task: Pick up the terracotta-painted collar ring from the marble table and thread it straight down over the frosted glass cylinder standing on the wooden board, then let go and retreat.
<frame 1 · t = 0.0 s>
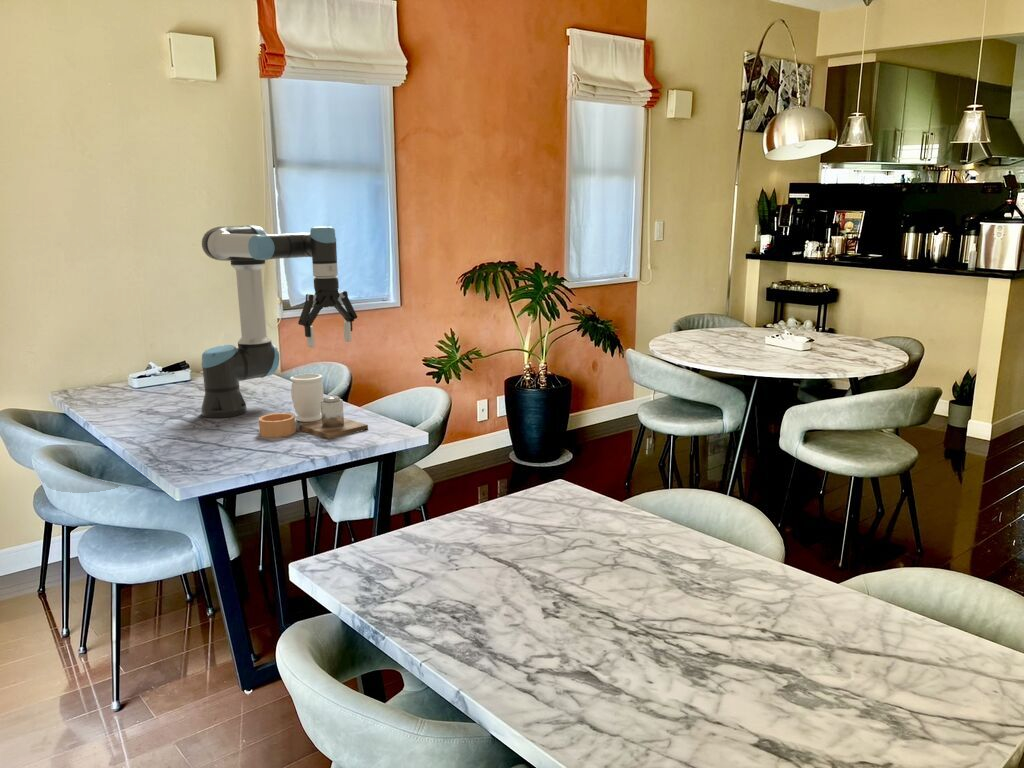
hand: (330, 344, 261), 28 cm above the table, fingers open, 13 cm apart
wooden board: (333, 429, 267), on the table
jar: (309, 419, 280), on the table
frosted glass cylinder: (332, 411, 266), on the wooden board, point 6 cm above the table
ring: (277, 432, 264), on the table
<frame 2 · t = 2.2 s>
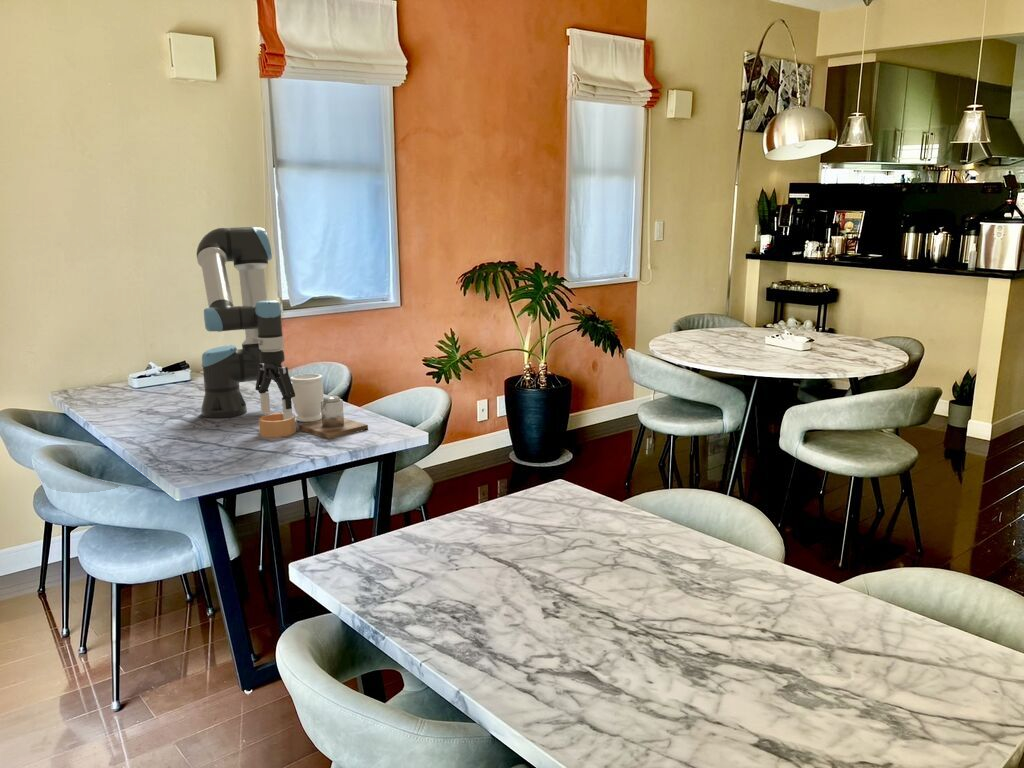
hand: (276, 415, 263), 6 cm above the table, fingers open, 13 cm apart
nothing on the table moved.
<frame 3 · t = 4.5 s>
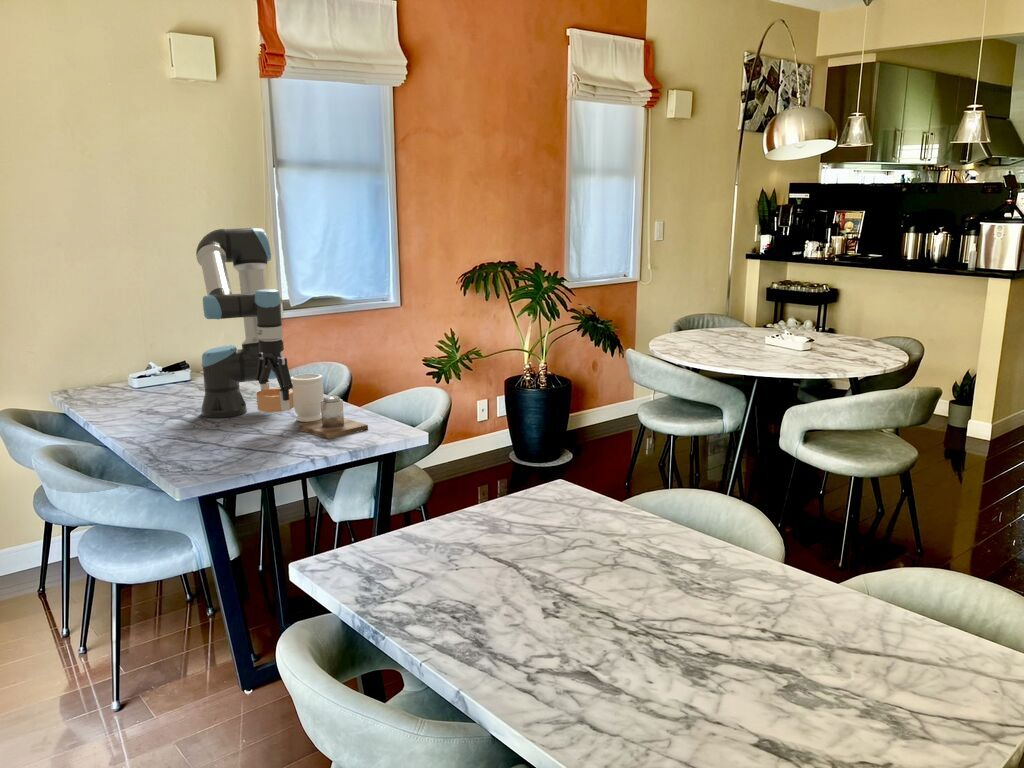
hand: (275, 406, 263), 8 cm above the table, fingers closed on ring, 11 cm apart
ring: (275, 407, 263), point 8 cm above the table, touching gripper
everything else where it was.
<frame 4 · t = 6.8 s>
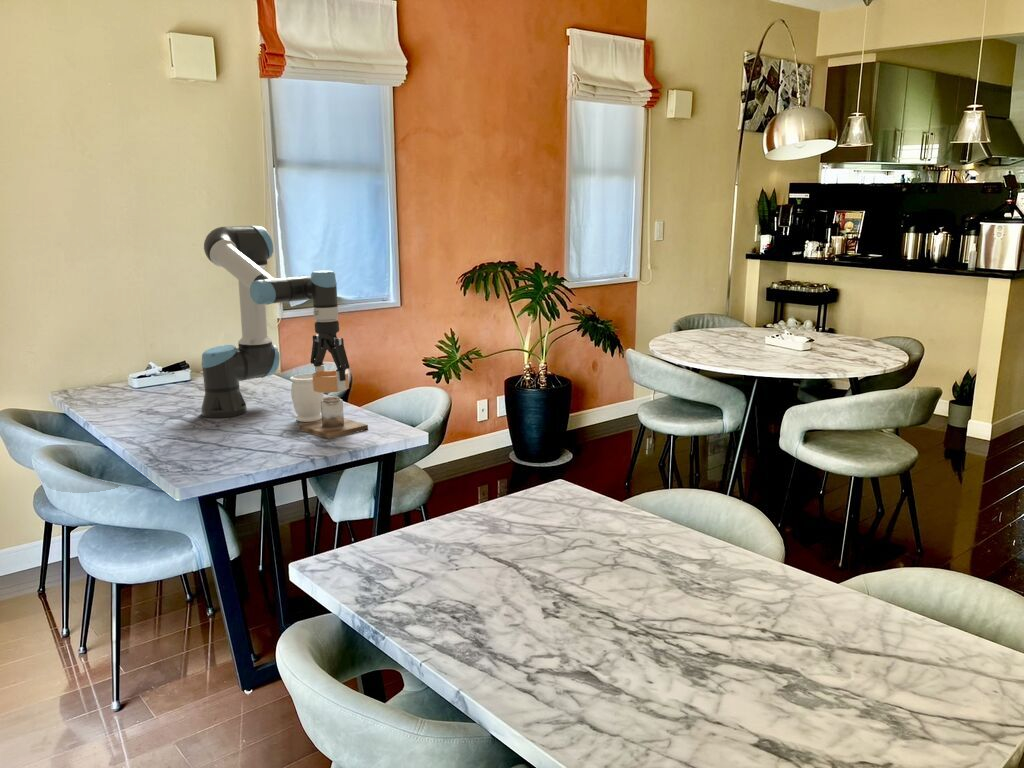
hand: (331, 388, 264), 14 cm above the table, fingers closed on ring, 11 cm apart
ring: (331, 388, 264), point 14 cm above the table, touching gripper
everything else where it was.
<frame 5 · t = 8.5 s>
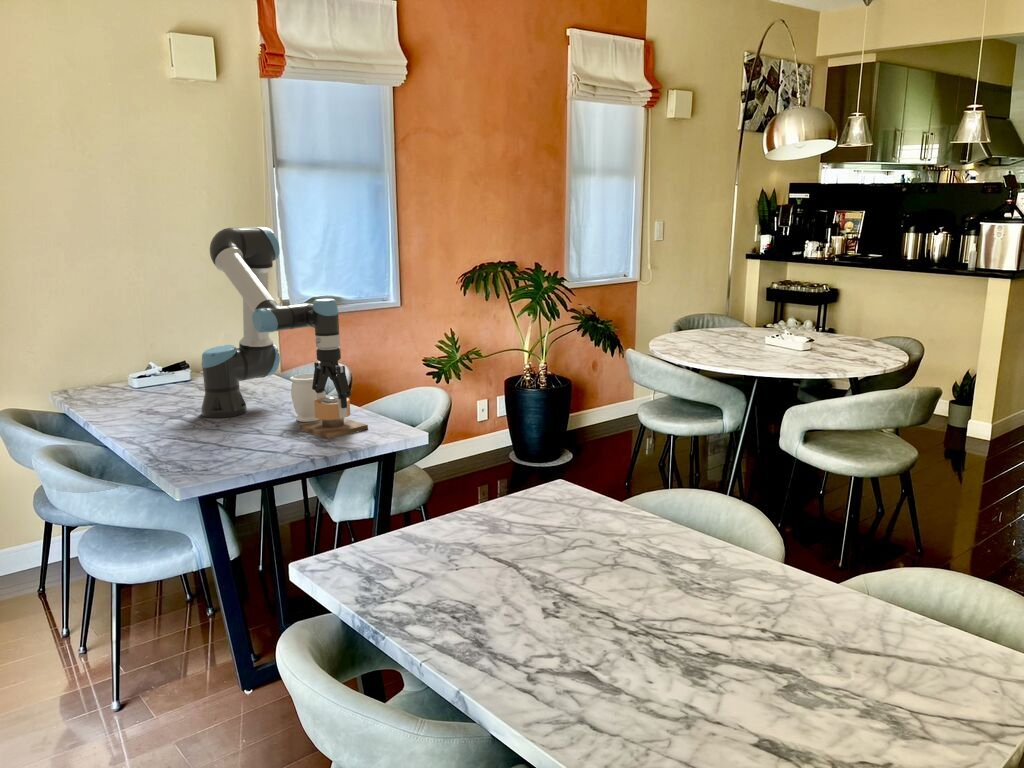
hand: (332, 414, 266), 5 cm above the table, fingers closed on ring, 11 cm apart
ring: (332, 415, 266), point 5 cm above the table, touching gripper
everything else where it was.
when the fingers open (3 cm above the table, at t = 9.6 s): ring drops 1 cm, resting on wooden board.
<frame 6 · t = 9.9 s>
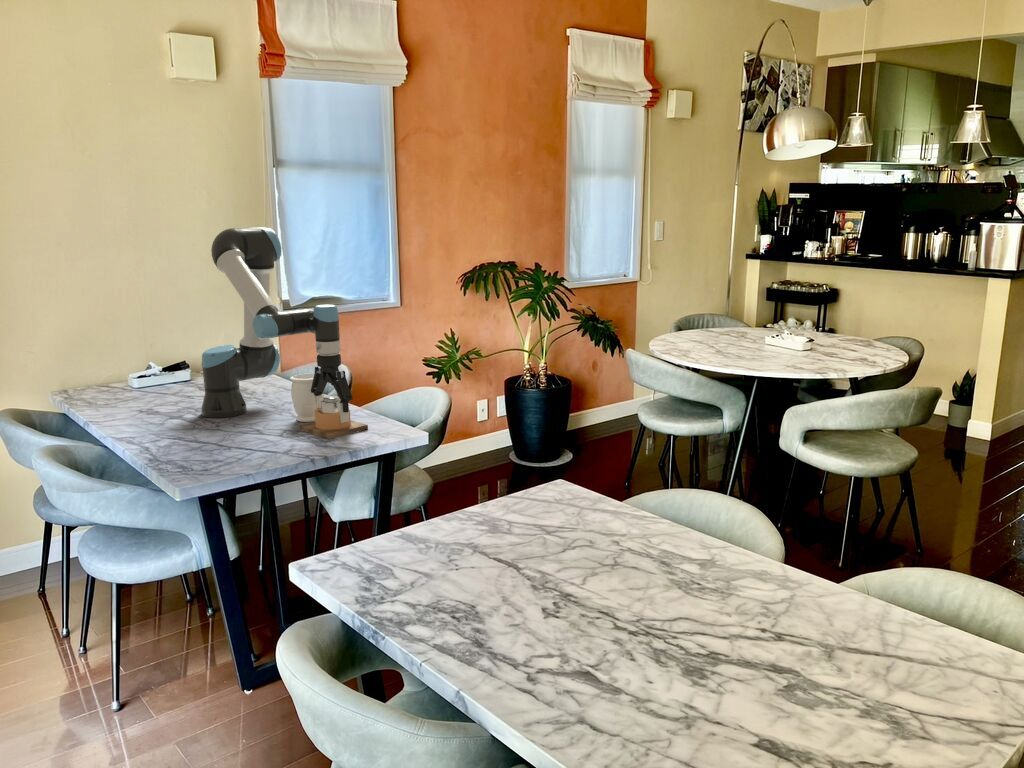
hand: (332, 418, 266), 4 cm above the table, fingers open, 13 cm apart
ring: (333, 424, 267), point 1 cm above the table, touching wooden board
everything else where it was.
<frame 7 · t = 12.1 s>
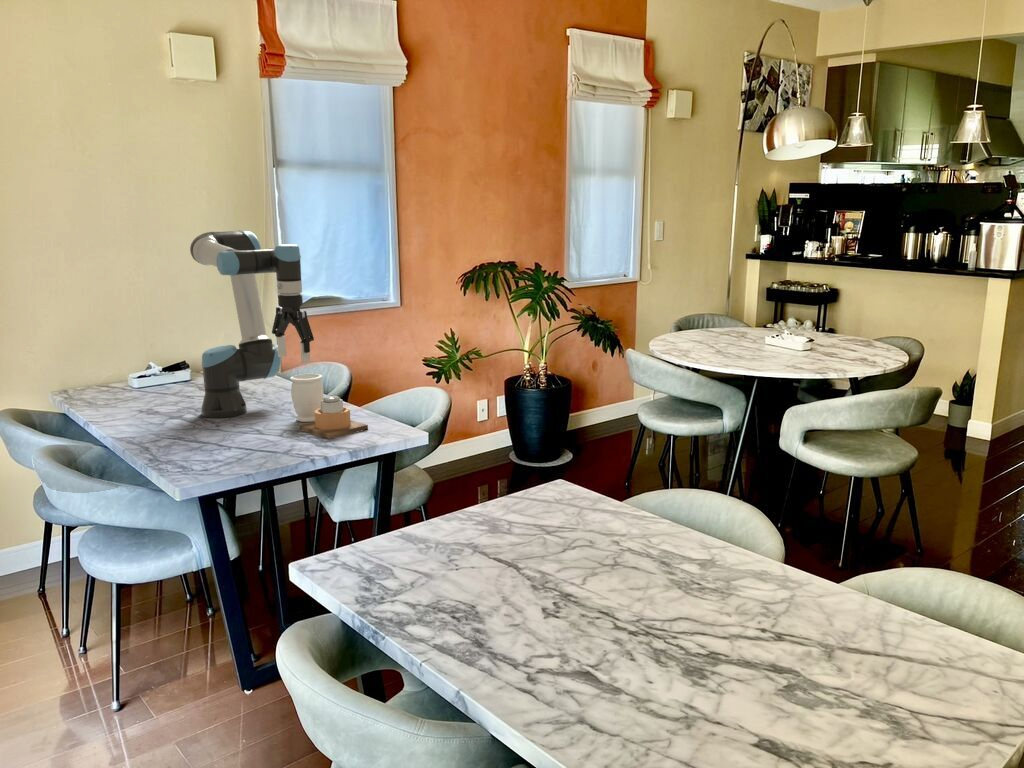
hand: (293, 359, 266), 23 cm above the table, fingers open, 13 cm apart
nothing on the table moved.
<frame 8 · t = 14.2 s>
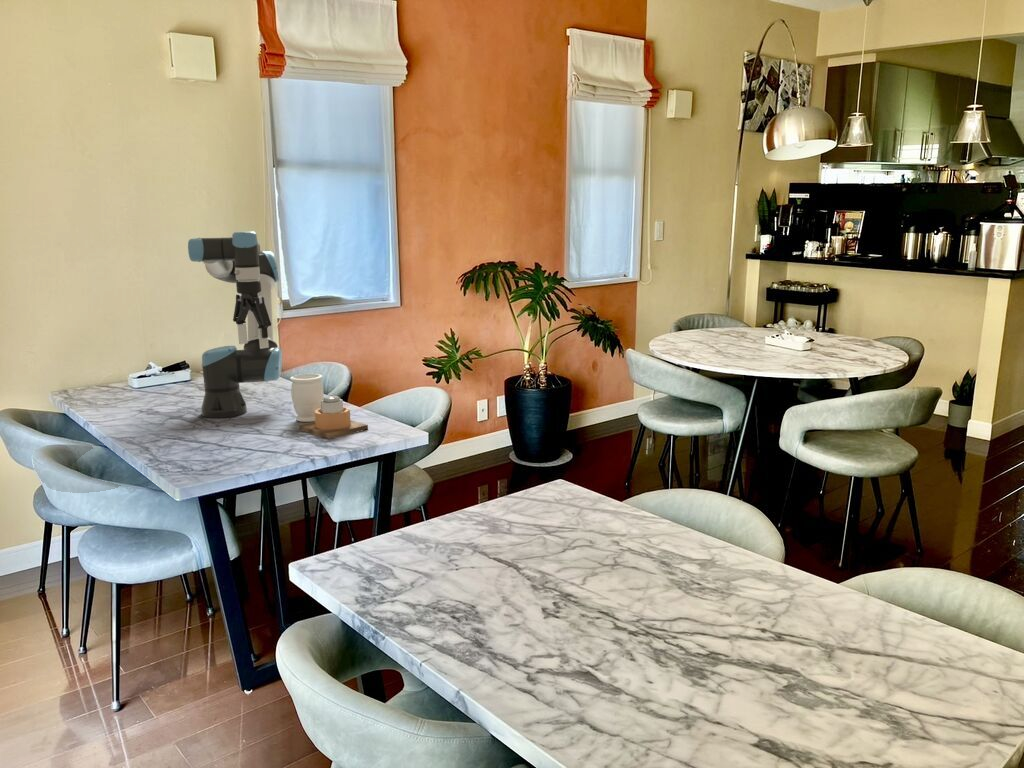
hand: (253, 345, 268), 27 cm above the table, fingers open, 13 cm apart
nothing on the table moved.
at the end: ring 0.0 cm off-centre on the frosted glass cylinder, point 1.5 cm above the frosted glass cylinder's base; ring tilted 0°; the gripper is holding nothing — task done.
